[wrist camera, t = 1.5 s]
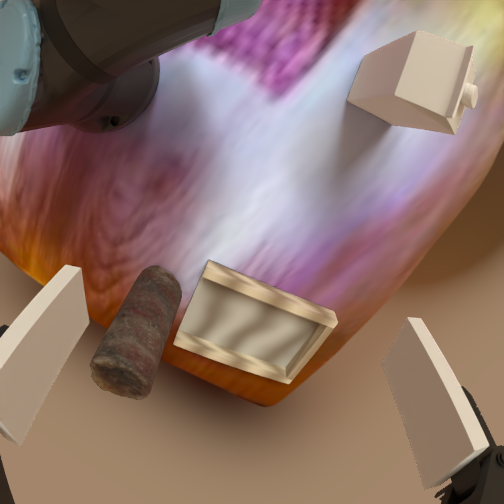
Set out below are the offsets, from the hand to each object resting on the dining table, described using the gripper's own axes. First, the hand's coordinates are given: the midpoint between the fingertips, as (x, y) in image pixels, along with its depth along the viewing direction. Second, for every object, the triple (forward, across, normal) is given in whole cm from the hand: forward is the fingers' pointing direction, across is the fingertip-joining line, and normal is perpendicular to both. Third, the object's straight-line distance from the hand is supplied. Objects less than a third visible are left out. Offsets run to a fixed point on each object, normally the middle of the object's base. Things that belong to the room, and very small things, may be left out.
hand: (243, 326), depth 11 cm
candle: (+30, -11, -20) cm, 37 cm away
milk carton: (+30, +14, +14) cm, 36 cm away
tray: (+29, +4, -24) cm, 38 cm away
